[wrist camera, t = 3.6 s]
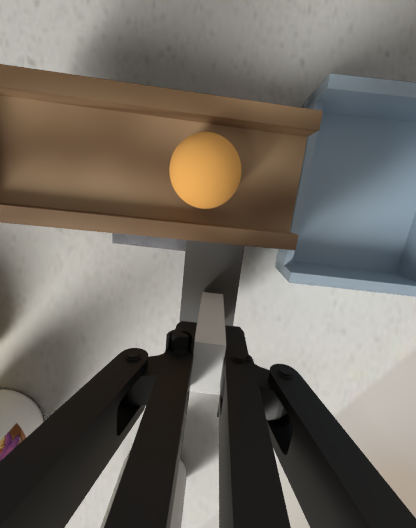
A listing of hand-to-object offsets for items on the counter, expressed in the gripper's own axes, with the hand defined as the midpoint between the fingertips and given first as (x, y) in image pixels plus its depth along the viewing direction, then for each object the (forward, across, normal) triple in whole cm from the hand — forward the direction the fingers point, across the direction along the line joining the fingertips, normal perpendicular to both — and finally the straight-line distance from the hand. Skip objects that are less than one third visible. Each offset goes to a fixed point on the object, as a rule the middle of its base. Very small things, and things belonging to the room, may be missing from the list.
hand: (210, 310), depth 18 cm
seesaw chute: (+1, -5, +5) cm, 7 cm away
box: (+6, +11, +9) cm, 16 cm away
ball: (-2, -1, +9) cm, 9 cm away
